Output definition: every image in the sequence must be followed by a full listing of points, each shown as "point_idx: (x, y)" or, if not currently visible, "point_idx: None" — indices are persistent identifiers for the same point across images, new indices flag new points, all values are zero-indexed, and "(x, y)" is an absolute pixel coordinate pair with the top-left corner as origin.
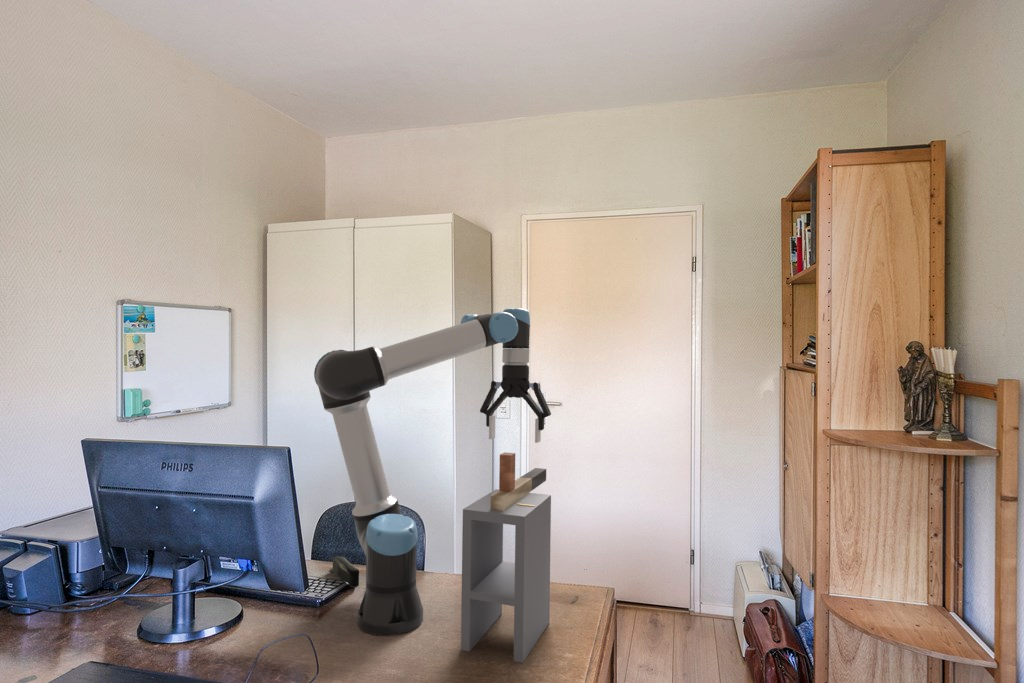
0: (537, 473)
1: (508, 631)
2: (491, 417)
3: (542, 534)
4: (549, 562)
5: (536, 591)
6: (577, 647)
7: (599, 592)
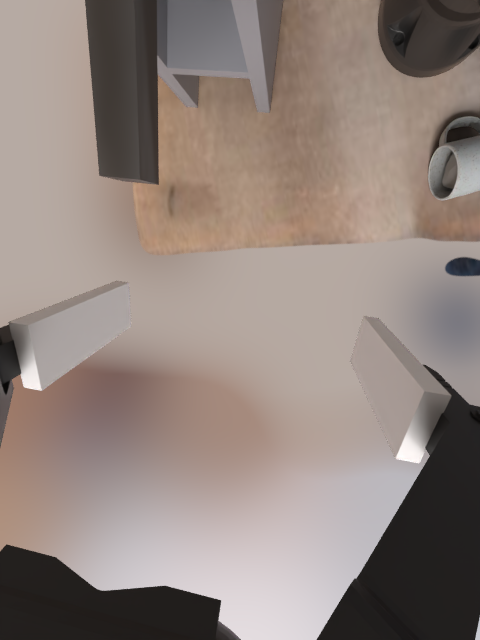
0: (96, 63)
1: None
2: (420, 384)
3: None
4: None
5: None
6: None
7: (147, 235)
